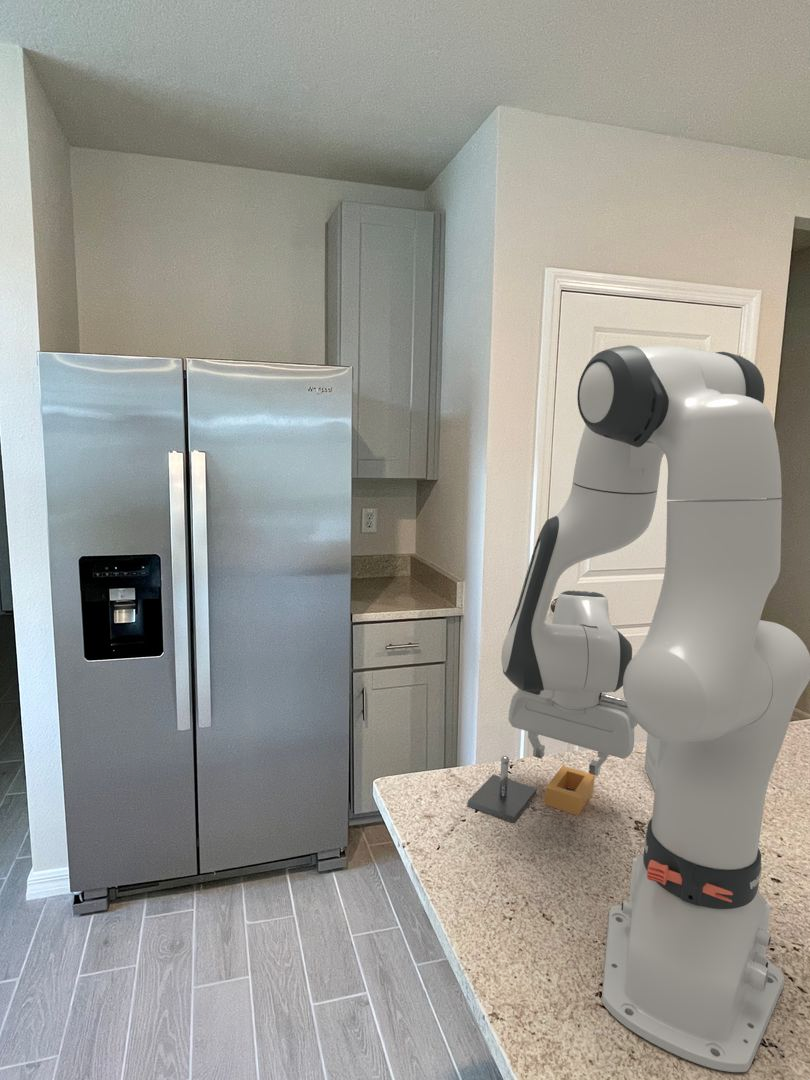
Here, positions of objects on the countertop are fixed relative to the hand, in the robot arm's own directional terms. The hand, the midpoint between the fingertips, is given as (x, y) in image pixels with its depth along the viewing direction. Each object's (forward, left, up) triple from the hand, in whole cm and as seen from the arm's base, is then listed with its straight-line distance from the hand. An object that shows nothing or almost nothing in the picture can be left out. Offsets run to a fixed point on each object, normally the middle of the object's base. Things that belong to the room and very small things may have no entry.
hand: (565, 764), depth 107 cm
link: (0, -1, -6) cm, 6 cm away
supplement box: (+16, -15, -6) cm, 23 cm away
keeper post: (-7, +8, -6) cm, 12 cm away
